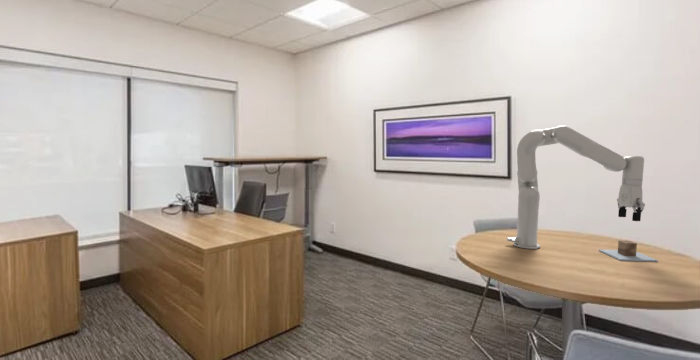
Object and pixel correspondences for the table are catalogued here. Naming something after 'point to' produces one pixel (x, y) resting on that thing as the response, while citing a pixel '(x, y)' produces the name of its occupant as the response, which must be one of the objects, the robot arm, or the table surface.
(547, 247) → the table surface
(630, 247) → the walnut block
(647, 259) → the slate board
